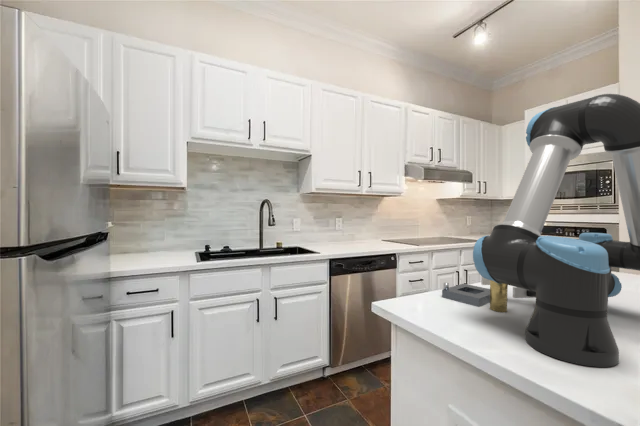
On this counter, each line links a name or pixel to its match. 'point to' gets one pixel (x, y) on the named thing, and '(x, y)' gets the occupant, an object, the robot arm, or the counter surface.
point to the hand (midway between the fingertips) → (496, 286)
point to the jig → (467, 294)
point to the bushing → (498, 296)
